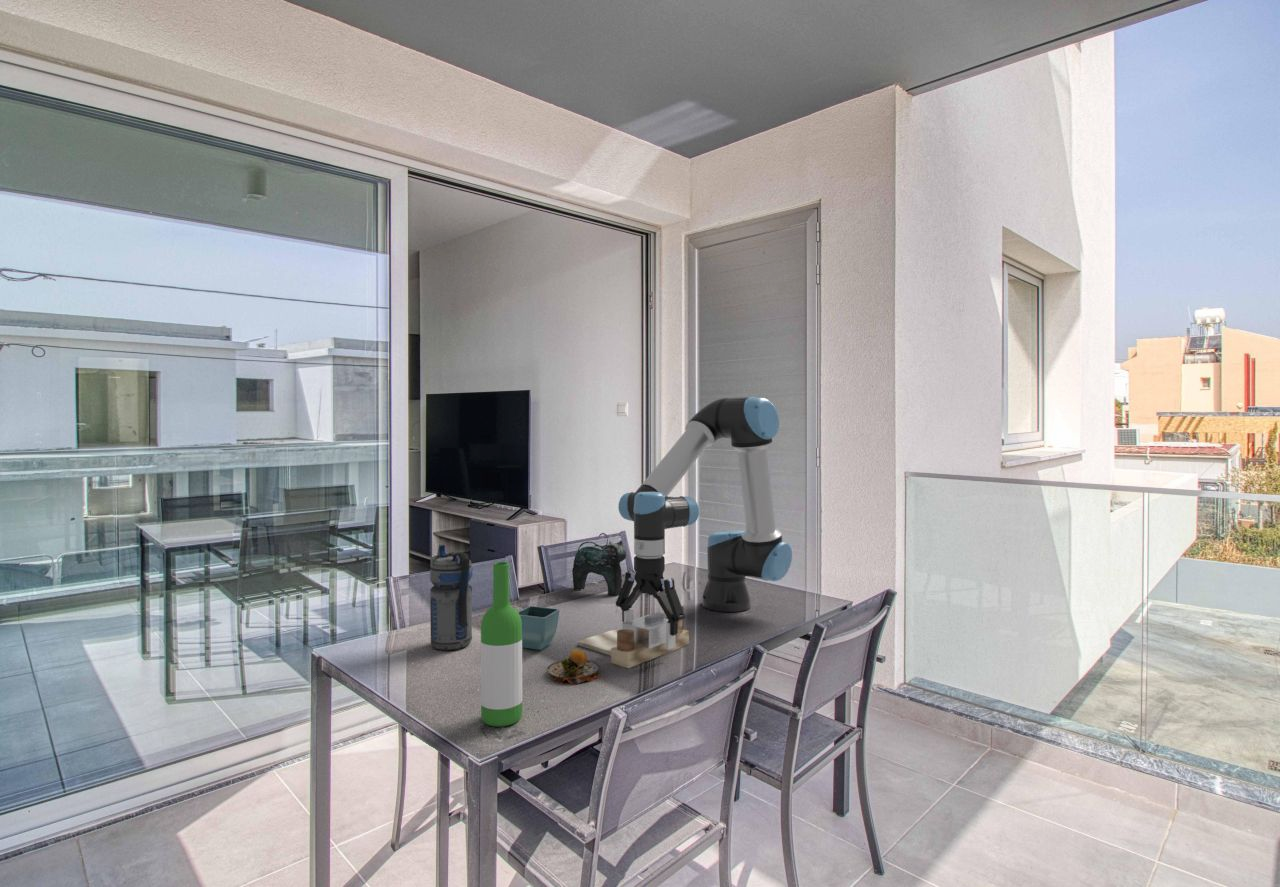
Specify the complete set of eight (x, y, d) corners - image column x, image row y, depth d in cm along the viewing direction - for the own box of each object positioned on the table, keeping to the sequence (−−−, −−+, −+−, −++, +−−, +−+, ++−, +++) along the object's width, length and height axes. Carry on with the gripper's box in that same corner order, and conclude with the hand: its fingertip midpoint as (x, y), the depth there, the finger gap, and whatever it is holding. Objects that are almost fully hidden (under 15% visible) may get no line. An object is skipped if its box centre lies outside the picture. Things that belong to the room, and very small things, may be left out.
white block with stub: (649, 631, 173) (649, 609, 173) (675, 638, 167) (675, 615, 167) (622, 641, 165) (622, 618, 165) (648, 648, 160) (648, 624, 159)
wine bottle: (497, 732, 124) (496, 569, 123) (472, 720, 129) (471, 563, 128) (530, 719, 130) (530, 563, 129) (505, 707, 135) (505, 557, 134)
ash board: (615, 632, 183) (615, 628, 183) (649, 642, 176) (649, 638, 176) (577, 645, 173) (577, 641, 173) (611, 655, 165) (611, 651, 165)
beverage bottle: (448, 657, 164) (447, 554, 163) (421, 644, 173) (421, 547, 172) (484, 647, 171) (484, 548, 170) (457, 635, 180) (457, 542, 180)
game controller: (627, 594, 225) (627, 534, 224) (616, 598, 219) (616, 536, 219) (579, 586, 235) (579, 529, 235) (568, 590, 230) (568, 531, 229)
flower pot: (560, 643, 175) (560, 608, 174) (544, 654, 166) (544, 617, 166) (529, 639, 178) (529, 605, 177) (512, 650, 169) (512, 614, 169)
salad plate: (573, 662, 161) (573, 631, 161) (610, 674, 154) (610, 641, 154) (535, 677, 152) (535, 644, 152) (572, 690, 145) (572, 655, 144)
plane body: (672, 639, 178) (672, 603, 177) (689, 644, 174) (689, 607, 174) (611, 662, 160) (611, 622, 160) (628, 668, 157) (628, 627, 156)
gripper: (602, 551, 171) (602, 634, 172) (680, 565, 155) (679, 657, 155) (622, 547, 177) (622, 628, 177) (699, 560, 160) (699, 649, 161)
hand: (649, 642), depth 166 cm, fingers open, 13 cm apart
